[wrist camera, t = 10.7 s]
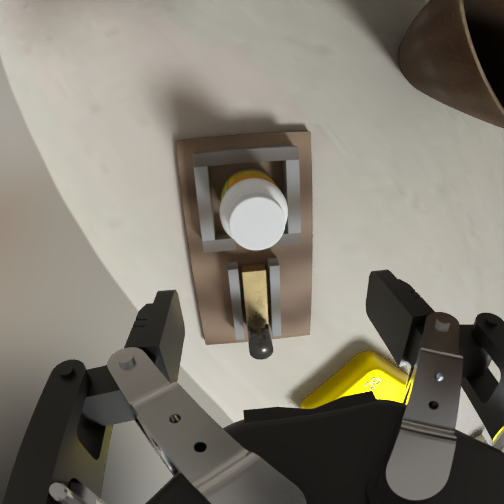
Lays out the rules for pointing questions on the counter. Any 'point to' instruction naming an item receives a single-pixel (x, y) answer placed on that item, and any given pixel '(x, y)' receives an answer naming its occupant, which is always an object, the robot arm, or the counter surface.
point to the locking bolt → (257, 310)
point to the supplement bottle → (253, 209)
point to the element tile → (361, 381)
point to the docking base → (229, 251)
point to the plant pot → (458, 56)
